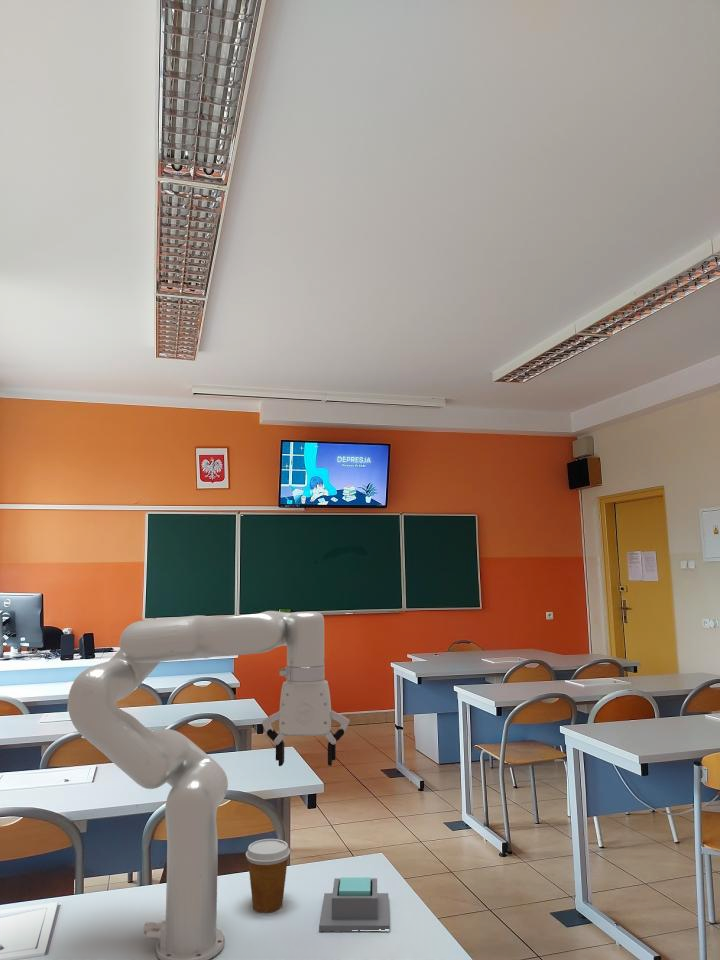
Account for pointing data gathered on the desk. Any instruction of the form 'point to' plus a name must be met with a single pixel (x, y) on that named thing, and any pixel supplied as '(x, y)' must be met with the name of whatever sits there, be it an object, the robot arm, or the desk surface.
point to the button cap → (355, 886)
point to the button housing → (354, 910)
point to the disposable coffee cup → (267, 873)
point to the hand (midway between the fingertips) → (305, 764)
